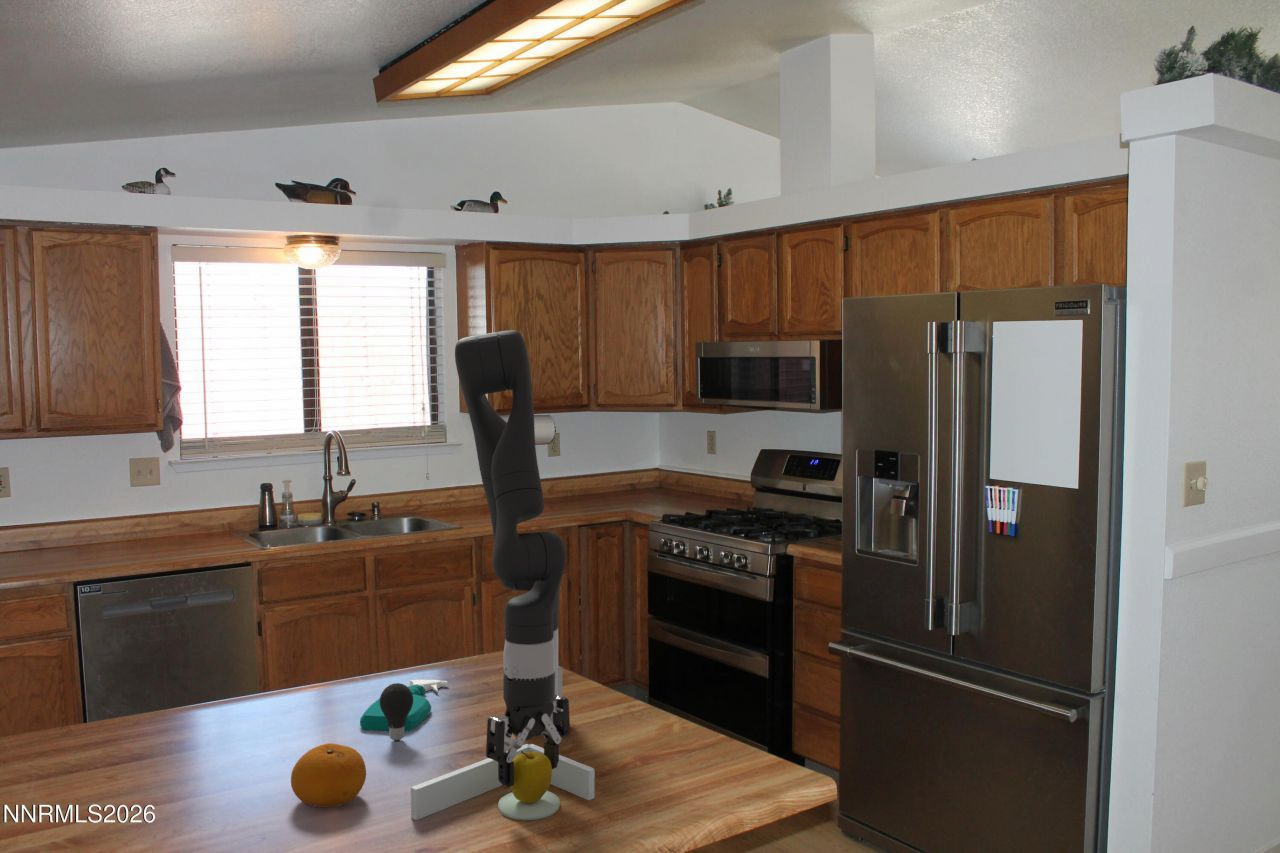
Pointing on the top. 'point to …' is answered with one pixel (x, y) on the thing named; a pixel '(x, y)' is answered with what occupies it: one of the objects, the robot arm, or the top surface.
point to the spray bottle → (417, 714)
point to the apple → (531, 776)
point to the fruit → (328, 775)
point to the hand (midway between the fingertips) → (529, 776)
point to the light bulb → (396, 708)
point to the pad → (529, 807)
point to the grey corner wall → (493, 783)
